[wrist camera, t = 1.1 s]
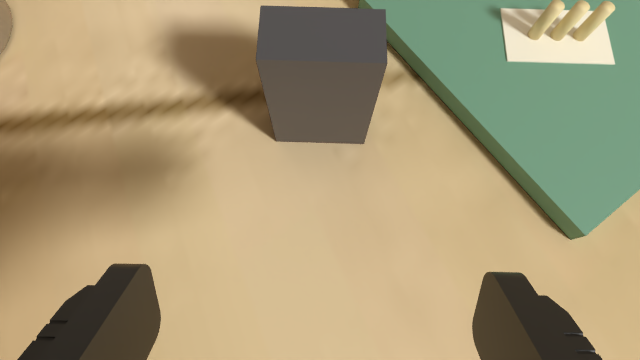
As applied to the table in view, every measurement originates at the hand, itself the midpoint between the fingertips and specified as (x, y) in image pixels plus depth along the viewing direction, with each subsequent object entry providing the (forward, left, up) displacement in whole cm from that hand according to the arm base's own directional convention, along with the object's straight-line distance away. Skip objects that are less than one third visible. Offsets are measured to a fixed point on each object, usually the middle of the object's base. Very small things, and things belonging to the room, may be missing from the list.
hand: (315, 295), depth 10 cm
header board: (-4, +24, -15) cm, 29 cm away
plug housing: (-9, +7, -15) cm, 19 cm away
